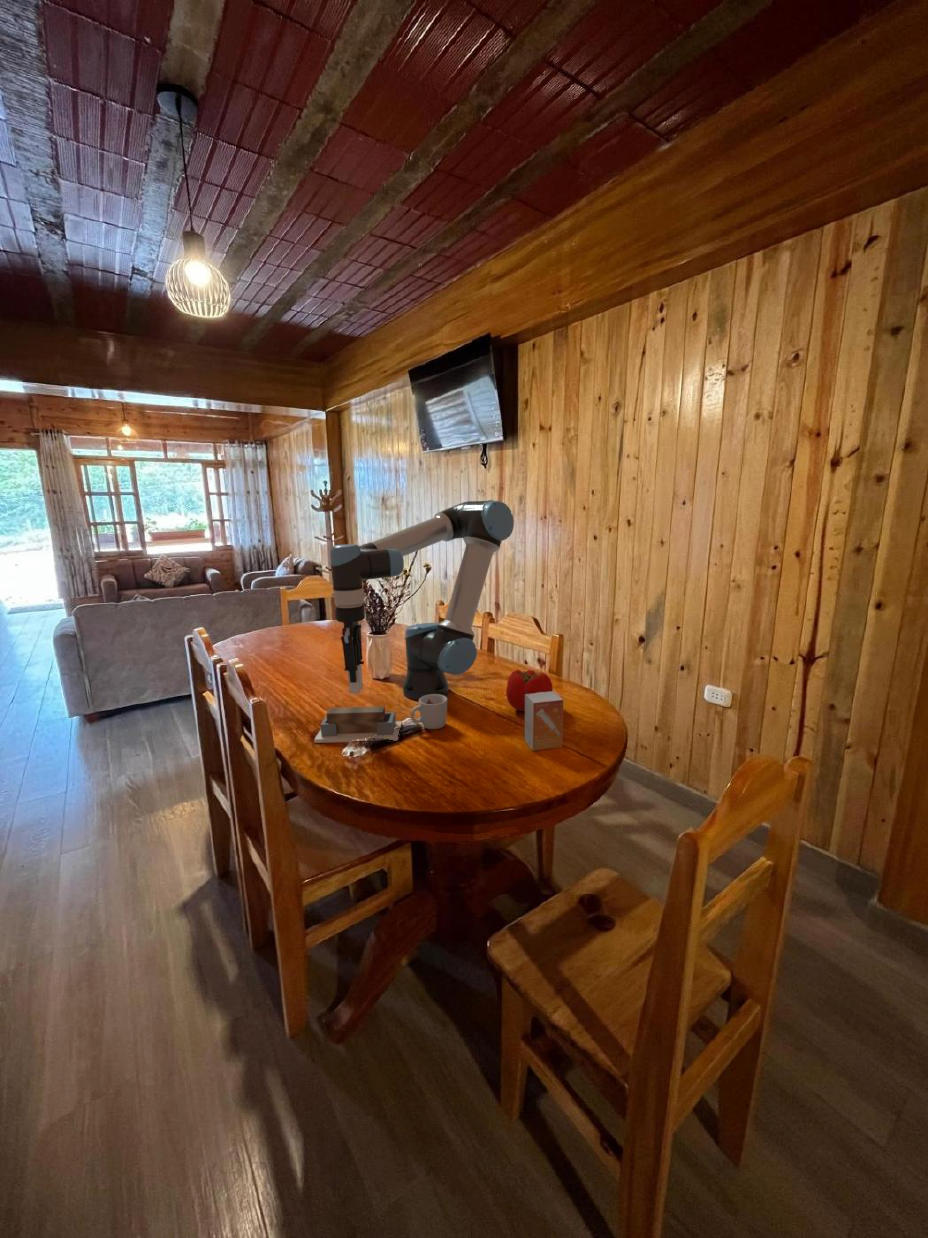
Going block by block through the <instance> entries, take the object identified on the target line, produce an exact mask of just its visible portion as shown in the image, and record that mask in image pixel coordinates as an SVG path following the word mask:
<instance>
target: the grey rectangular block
mask: <svg viewBox="0 0 928 1238" xmlns="http://www.w3.org/2000/svg"><path fill="white" fill-rule="evenodd" d="M385 712H386V706H385V705H381V706H378V705H375V706H373V705H372V706H371V705H370V706H348V707H347V706H345V707H329V709H328V710H327V712H326V715H327V723H336V727H337V734H357V733H377V722H386V718H385Z"/></svg>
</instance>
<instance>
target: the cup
mask: <svg viewBox="0 0 928 1238" xmlns="http://www.w3.org/2000/svg"><path fill="white" fill-rule="evenodd" d="M417 711H419V717H418V718H415V713H416V712H417ZM447 714H448V697H447V696H446V695H444V696H443V695H439V694H430V695H425V696H423V697H421V698H420V699H419V700H418V705H416V706H414V707H412V709H410V719H411V721H412V722H413V723H415V724H418V723H422V725H423V727H424V728H426V729H428V730H438V729H442V728H443V727H444V726H445V725H446V722H447Z"/></svg>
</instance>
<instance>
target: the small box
mask: <svg viewBox="0 0 928 1238" xmlns="http://www.w3.org/2000/svg"><path fill="white" fill-rule="evenodd" d="M563 726H564V699H563V697H561V696H560V695H559V694H558V693H557V692H556V691H554V690H553V691H551V692H539V693H533V694H525V711H524V741H525V742H526V744H527V746H528V747H530V749H531V750H532V751H533V752H535V751H542V750H549V749H557V748H558V749H559V748H563V734H564V730H563V729H564V728H563Z"/></svg>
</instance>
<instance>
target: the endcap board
mask: <svg viewBox="0 0 928 1238" xmlns="http://www.w3.org/2000/svg"><path fill="white" fill-rule="evenodd" d="M385 718H386V722H377V733H357V734H337V727H336V723H327V714H325V717H324V718H323V720H322V722H321V723H320V725H319V726H320V730H319V732H318V733H317V735H315V738H314V743H315V744H319V743H320V744H321V743H323V744H324V743H325V744H326V743H329V744H330V743H352V742H351V741H352V740H356V739H365V738H366V739H367V738H369V737H370V738H379V739H380V738H381V739H382V738H383V739H389V740H393V741H392V742H395V741H396V742H397V741H398V740H399V737H398V734H399V730H400V729H399V730H398V729H394V728H395V727H396V726H401V724H402V725H403V721H401V720H400V721H399V720H398V721H397V719H396V712H395V711H390V712H389V711H385ZM400 731H401V730H400ZM375 735H378V736H376V737H375ZM383 735H384V736H383ZM399 735H400V734H399ZM373 736H374V737H373Z"/></svg>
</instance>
